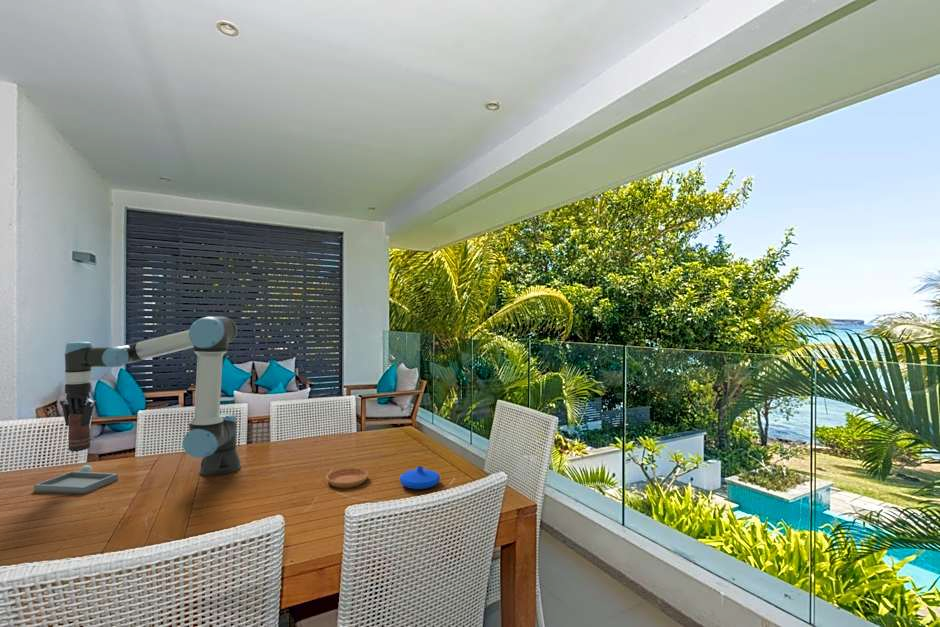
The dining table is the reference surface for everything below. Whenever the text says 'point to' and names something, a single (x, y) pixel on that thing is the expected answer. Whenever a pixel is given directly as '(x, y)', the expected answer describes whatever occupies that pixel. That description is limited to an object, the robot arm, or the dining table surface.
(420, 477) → the blue lid
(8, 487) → the dining table surface
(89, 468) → the ball
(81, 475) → the tray
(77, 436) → the can
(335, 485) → the saucer
